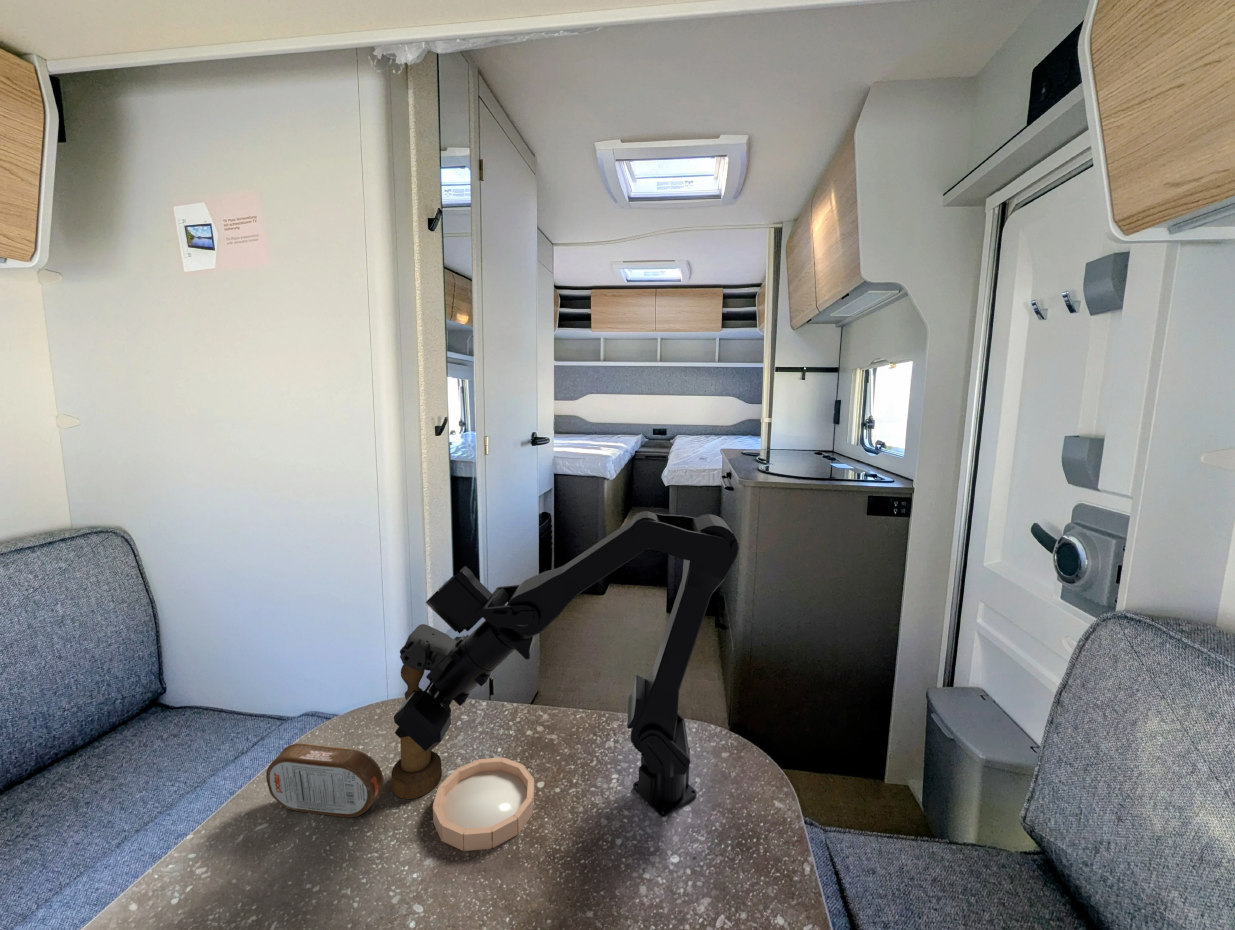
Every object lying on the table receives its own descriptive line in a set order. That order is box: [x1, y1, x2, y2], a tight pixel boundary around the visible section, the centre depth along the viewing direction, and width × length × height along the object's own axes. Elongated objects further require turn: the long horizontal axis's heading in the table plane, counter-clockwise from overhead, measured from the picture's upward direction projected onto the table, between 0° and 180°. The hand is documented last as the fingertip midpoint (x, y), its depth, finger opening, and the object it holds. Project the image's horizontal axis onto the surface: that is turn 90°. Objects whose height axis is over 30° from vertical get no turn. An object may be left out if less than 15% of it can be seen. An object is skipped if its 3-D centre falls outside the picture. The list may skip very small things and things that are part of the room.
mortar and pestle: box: [390, 664, 443, 800], centre depth 69 cm, size 7×6×18 cm
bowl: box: [432, 757, 535, 852], centre depth 66 cm, size 13×13×2 cm
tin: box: [265, 742, 385, 818], centre depth 65 cm, size 15×3×8 cm, turn 83°
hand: (404, 724), depth 70 cm, fingers closed on mortar and pestle, 4 cm apart
